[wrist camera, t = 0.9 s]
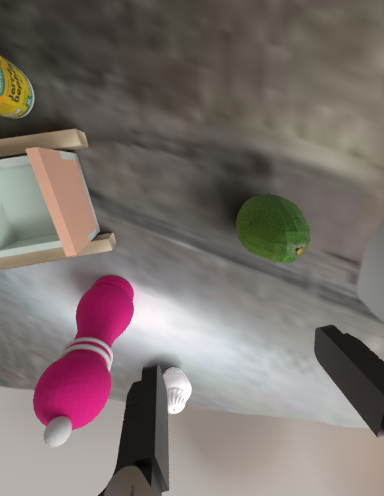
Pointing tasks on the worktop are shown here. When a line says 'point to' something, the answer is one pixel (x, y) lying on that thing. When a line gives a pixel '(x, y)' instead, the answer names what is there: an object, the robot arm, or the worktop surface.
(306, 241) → the avocado
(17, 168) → the drawer
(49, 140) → the bay
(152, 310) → the worktop surface
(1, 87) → the supplement bottle
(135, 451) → the robot arm
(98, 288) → the pepper mill
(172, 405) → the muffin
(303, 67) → the worktop surface
